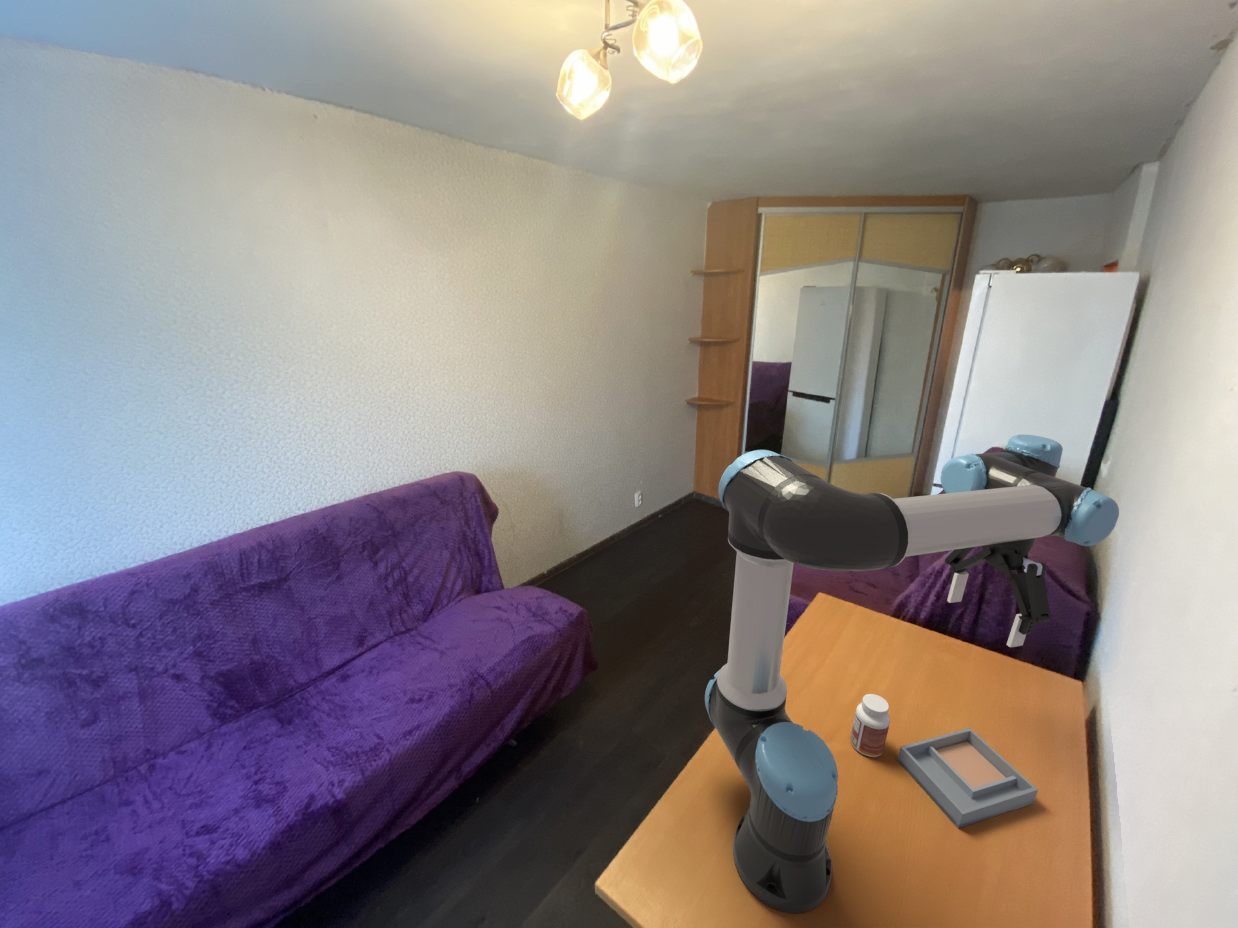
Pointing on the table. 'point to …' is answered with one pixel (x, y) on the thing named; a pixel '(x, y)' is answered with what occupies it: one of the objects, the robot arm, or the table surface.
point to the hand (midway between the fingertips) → (982, 621)
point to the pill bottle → (870, 725)
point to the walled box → (966, 777)
